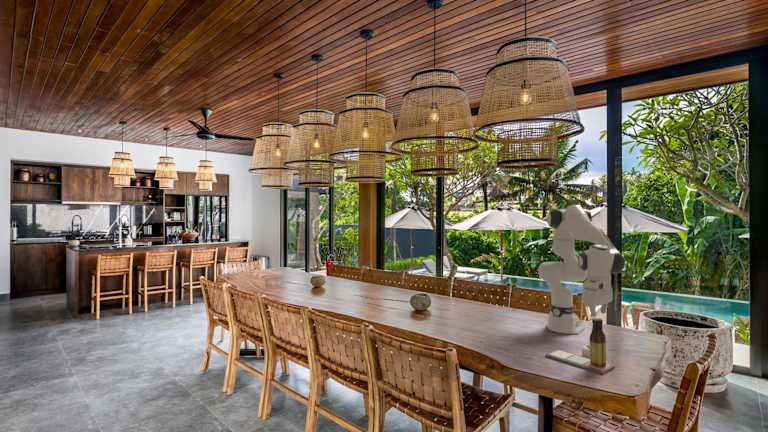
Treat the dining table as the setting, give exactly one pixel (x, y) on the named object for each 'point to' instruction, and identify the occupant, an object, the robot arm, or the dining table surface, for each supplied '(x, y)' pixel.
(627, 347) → the dining table surface
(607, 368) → the game strip
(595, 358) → the sauce bottle
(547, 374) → the dining table surface
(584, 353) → the pale notched block
